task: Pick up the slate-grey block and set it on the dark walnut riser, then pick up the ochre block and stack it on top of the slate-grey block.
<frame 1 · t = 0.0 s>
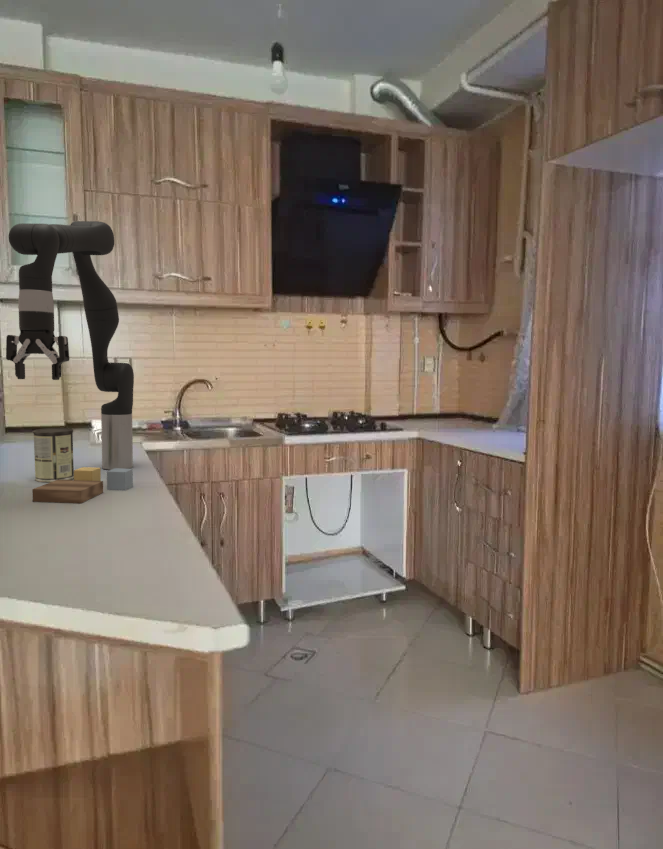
hand: (38, 379, 144), 29 cm above the counter, tool pointing down, fingers open, 8 cm apart
coffee can: (54, 479, 172), on the counter
ochre block: (87, 487, 163), on the counter
walnut riser: (69, 496, 151), on the counter
slate block: (120, 488, 162), on the counter
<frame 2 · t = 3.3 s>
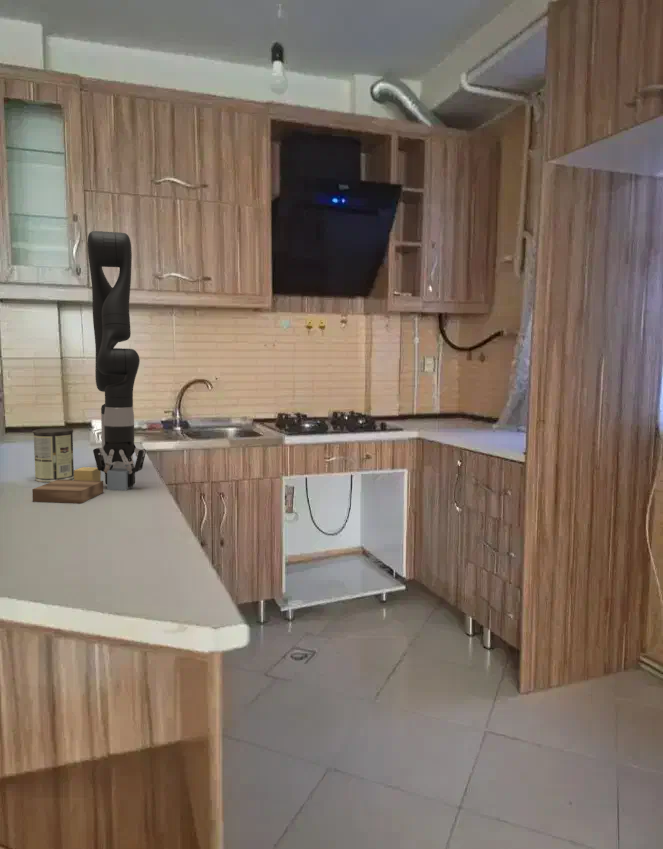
hand: (120, 486, 162), 0 cm above the counter, tool pointing down, fingers closed on slate block, 5 cm apart
slate block: (120, 488, 162), on the counter, touching gripper
everything else where it was.
when the fingers open (5 cm above the counter, at t = 8.4 s): slate block drops 1 cm, resting on walnut riser.
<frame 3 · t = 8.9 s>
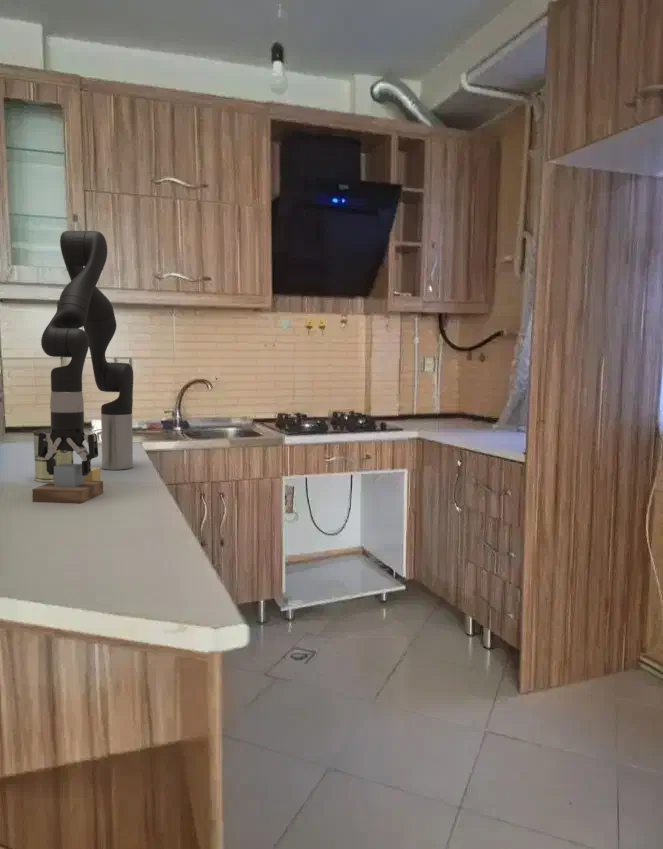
hand: (68, 474, 150), 6 cm above the counter, tool pointing down, fingers open, 8 cm apart
slate block: (69, 485, 150), point 3 cm above the counter, touching walnut riser
everything else where it was.
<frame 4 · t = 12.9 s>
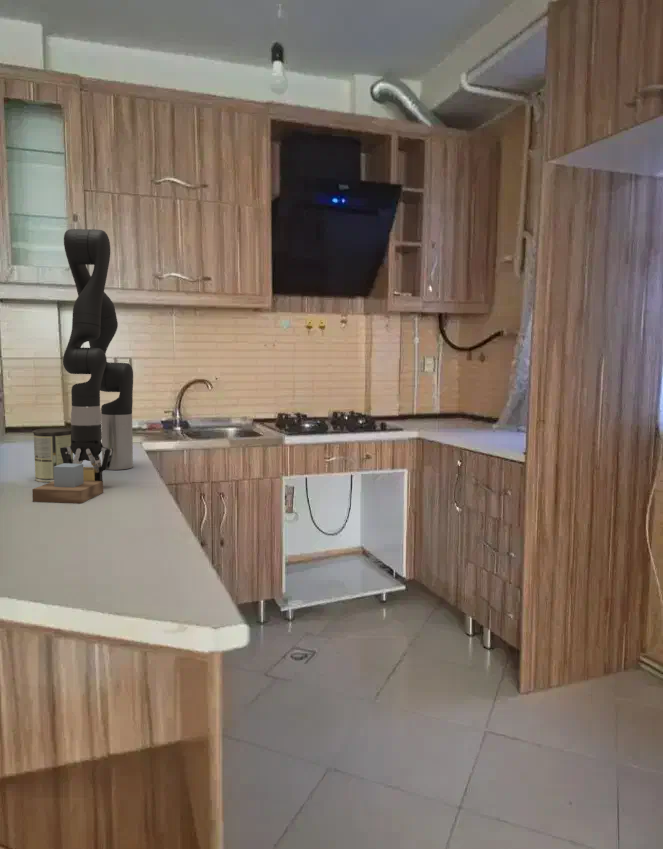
hand: (87, 485, 162), 0 cm above the counter, tool pointing down, fingers closed on ochre block, 5 cm apart
ochre block: (87, 487, 163), on the counter, touching gripper
everything else where it was.
when the fingers open (10 cm above the counter, at t = 17.3 s): ochre block drops 1 cm, resting on slate block.
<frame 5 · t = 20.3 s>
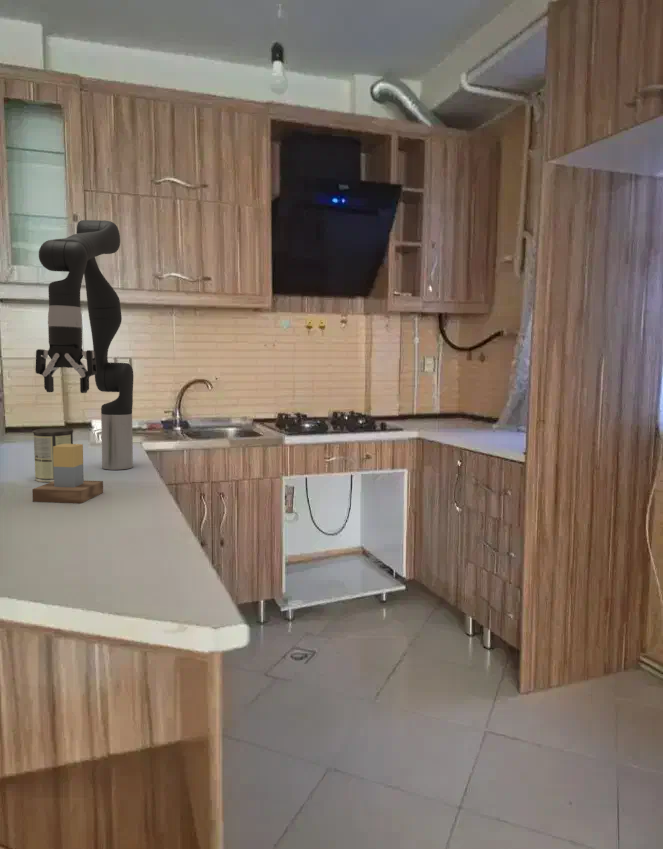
hand: (66, 392, 148), 26 cm above the counter, tool pointing down, fingers open, 8 cm apart
ochre block: (68, 465, 150), point 8 cm above the counter, touching slate block
slate block: (69, 485, 150), point 3 cm above the counter, touching ochre block, walnut riser
everything else where it was.
at the end: slate block 0.0 cm off-centre on the walnut riser, point 3.0 cm above the walnut riser's base; ochre block 0.0 cm off-centre on the walnut riser, point 8.0 cm above the walnut riser's base; ochre block tilted 0° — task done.
